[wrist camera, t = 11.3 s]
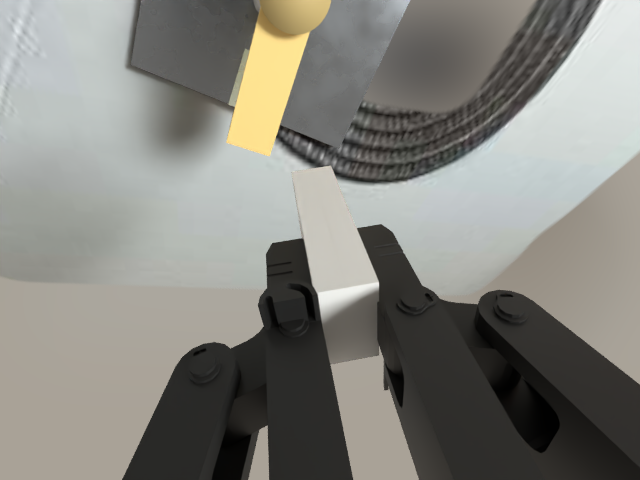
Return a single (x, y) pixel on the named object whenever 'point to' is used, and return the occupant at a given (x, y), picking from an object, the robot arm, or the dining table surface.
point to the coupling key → (272, 70)
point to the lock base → (234, 44)
